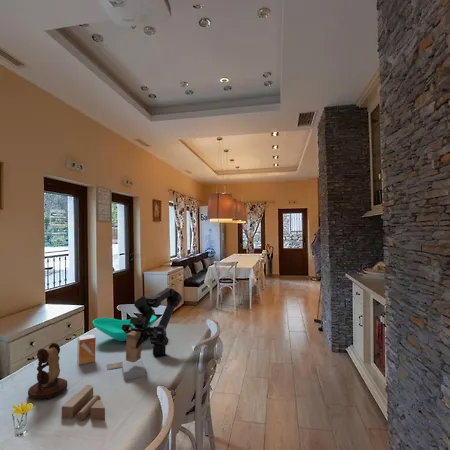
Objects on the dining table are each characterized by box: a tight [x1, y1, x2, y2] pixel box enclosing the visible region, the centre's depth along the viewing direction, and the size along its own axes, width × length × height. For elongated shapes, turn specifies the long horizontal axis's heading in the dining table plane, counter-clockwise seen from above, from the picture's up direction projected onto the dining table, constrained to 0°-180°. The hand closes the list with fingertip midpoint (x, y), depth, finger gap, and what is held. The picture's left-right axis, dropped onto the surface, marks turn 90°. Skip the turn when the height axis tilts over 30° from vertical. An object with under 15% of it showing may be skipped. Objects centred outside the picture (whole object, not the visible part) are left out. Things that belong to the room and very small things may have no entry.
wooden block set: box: [61, 384, 106, 421], centre depth 120 cm, size 17×6×18 cm
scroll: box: [27, 342, 68, 400], centre depth 130 cm, size 15×15×20 cm
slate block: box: [121, 360, 147, 381], centre depth 148 cm, size 10×10×4 cm
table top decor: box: [92, 315, 158, 342], centre depth 195 cm, size 40×28×13 cm
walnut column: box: [125, 331, 142, 363], centre depth 148 cm, size 5×5×13 cm
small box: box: [76, 333, 97, 366], centre depth 162 cm, size 8×6×13 cm
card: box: [106, 361, 124, 371], centre depth 156 cm, size 8×6×1 cm
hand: (132, 346), depth 147 cm, fingers closed on walnut column, 5 cm apart
